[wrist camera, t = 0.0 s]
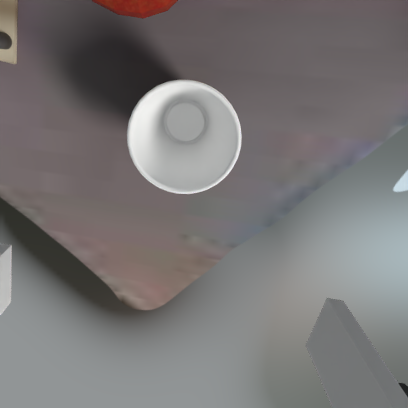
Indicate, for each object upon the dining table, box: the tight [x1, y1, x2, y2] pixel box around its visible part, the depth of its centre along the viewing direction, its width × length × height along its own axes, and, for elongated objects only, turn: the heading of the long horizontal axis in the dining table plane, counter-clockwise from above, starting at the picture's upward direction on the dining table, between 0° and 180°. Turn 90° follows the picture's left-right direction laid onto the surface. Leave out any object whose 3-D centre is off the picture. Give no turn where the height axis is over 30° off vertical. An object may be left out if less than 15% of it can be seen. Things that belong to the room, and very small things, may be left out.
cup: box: [127, 79, 242, 194], centre depth 33 cm, size 10×10×11 cm
